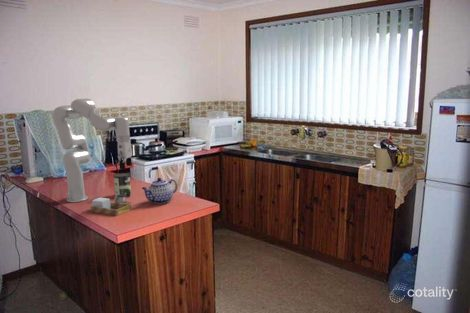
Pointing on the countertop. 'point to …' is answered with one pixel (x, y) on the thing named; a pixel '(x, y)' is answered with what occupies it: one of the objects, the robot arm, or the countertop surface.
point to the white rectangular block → (102, 203)
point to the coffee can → (122, 183)
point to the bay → (121, 206)
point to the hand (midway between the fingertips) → (126, 167)
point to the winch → (121, 200)
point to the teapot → (160, 191)
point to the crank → (126, 194)
